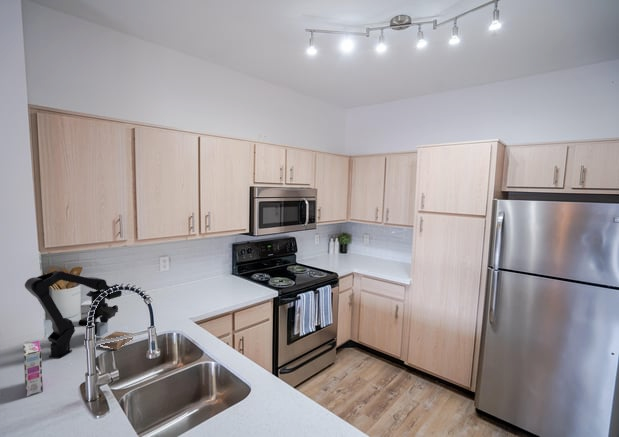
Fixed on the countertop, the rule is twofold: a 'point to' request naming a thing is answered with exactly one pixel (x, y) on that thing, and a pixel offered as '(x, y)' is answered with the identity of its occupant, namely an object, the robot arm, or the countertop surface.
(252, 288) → the countertop surface
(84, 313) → the supplement box
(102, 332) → the slate cube
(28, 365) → the candy bar box
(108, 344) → the walnut block
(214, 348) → the countertop surface
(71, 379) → the countertop surface
